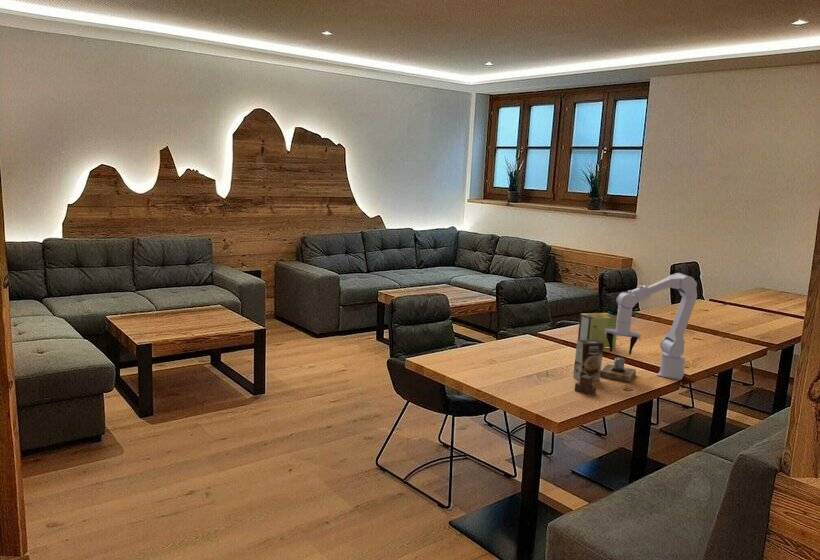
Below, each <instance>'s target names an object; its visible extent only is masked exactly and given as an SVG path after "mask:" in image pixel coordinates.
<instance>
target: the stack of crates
mask: <svg viewBox="0 0 820 560" xmlns="http://www.w3.org/2000/svg"><path fill="white" fill-rule="evenodd" d="M574 391H575V392H579V393H581V392H582V393H583V394H585V393H586V394H585V395H588V394H590V395H589V396H593V395H595V394H596V392H597V386H596V385H593V381H592V377H591V376H588V375H583V376H581V377H580V381H578V382H576V383H575V384H574ZM594 393H595V394H594Z"/></svg>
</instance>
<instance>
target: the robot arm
mask: <svg viewBox="0 0 820 560" xmlns="http://www.w3.org/2000/svg"><path fill="white" fill-rule="evenodd" d="M697 286H698V282H697V281H696V280H695V279H694V277H693V276H690V275H686V274H683V273H681V272H675V273H673V274H670V275H668V276H667V277H664V278H663V279H661V280H659V281H657V282H655V283H653V284H650V285H649V286H646V285H641V284H640V285H638V287H636V288H634V289H630V290H629V289H628V291H627V292H624V291H623V292H621V293H619V295H618V296H617V297H616V298H615V301H616V303H617V315H616V317H617V322H616V329H605V331H604V334H607V336H606V337H607V339H608V342H609V346H610V348H609V352H611V353H612V352H613V350H614V348H613V337H614V335H617V336H619V337H620V336H621V337H628V338H630V343H629V350H628V355H631V354H632V352H633V348H634V346H635V344H636V343H637V341H638V339H639V340H641V337H642V333H640V332H634V331H631V326H632V325H631V324H632V316H633V315H632V313H633V308H634V307H635V306H636V304H638V303H640V302H643V301H646V300H647V299H650V298H651V297H652V295H653V294H656V293H658V292H661V291H664V290H667V289H669V288H670V289H675V290H677V291H678V292H679V295H680V296H681V300H680V302H679V305H678V308H677V311H676V314H675V317H674V318H673V322H672V324H671V328H670V331H669V332H667V333H666V334H665V336H664V338H663V339H662V340H661V341H660V344H659V345H660V346H659V347H660V349H661V351H662V352H661V359H660V360H661V361H660V369H659V371H658V373H657V376H658V377H664V378H667V379H672V380H673V379H674V380H679V381H681V380H682V379H683V377H684V376H685V375H684V374H685V367H686V365H685V364H686V358H685V357H682V356H683V354H684V353H685V343H686V341H685V338H684V335H685V331H686V329H687V327H688V323H689V321H690V317H691V315H692V312H693V310H694V307H695V304H696V301H697V299H698V292H697V291H698V290H697Z"/></svg>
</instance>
